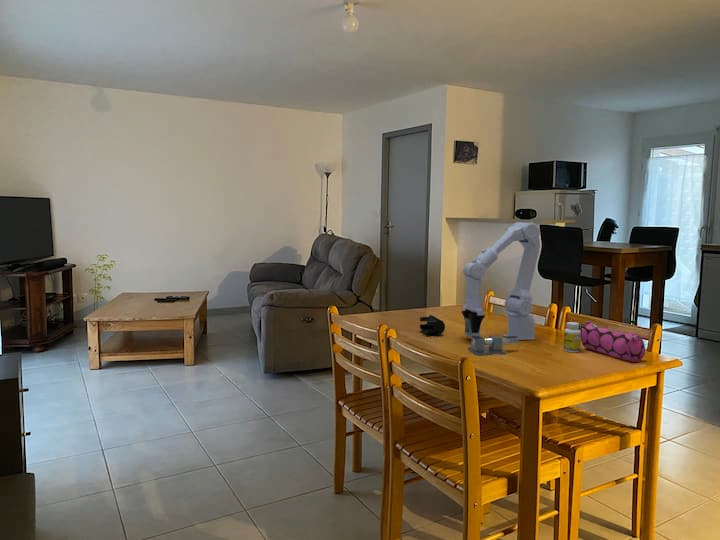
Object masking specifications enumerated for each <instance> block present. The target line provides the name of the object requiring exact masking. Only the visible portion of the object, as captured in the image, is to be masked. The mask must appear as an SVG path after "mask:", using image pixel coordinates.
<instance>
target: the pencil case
mask: <svg viewBox="0 0 720 540" xmlns="http://www.w3.org/2000/svg"><path fill="white" fill-rule="evenodd" d="M585 325H586V326H584V328H583V329H582V331H581V342H580V343H582V346H583V347H584V348H585V349H588V350H590V351H595V352H597V353H600V354H606V355H608V356H610V357H614V358H617V359H621V360H624V361H629V362H634V363H637V361H638V362H640V361H641V360H642V359H643V358H644V356H645V354H646V346H645V343H644V340H643V338H642V336H640V335H639V334H637V333H633V332H625V333H624V332H621V331H615V330H611V329H608V328H606V327H599V326H597V325H596V324H595V323H594V322H592V321H591V320H588V321H586V322H585Z"/></svg>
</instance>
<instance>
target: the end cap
mask: <svg viewBox="0 0 720 540" xmlns="http://www.w3.org/2000/svg"><path fill="white" fill-rule="evenodd" d="M419 322H426V323H424V324H419V329H420V333H421V334H422V333H423V334H422V335H424V336H425V335H426V337H427V338H428V337H430V338H431V336H433V337H439V336H440V335H442V334H443V333H444V332H445V331H446V324H445V322H444V321H443V320H442V319H440V318H438V317H436V316H434V315H432V314H429V316H420V318H419Z"/></svg>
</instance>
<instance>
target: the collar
mask: <svg viewBox="0 0 720 540" xmlns="http://www.w3.org/2000/svg"><path fill="white" fill-rule="evenodd" d="M464 335H465V336H467V337H468V338H471V337H472V336H481V328H480V329H479V332H478V333H472V326H471V320H470V317H466V318H465V319H464Z"/></svg>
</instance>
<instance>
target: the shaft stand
mask: <svg viewBox="0 0 720 540" xmlns="http://www.w3.org/2000/svg"><path fill="white" fill-rule="evenodd" d="M470 338H471V341H470V342H471V344H470V345H471V346H469V347H468V349H467V350H468V351H470V352H471V353H473V354H474V355H476V356H477V355H478V356H491V355H490V354H501V355H507V352H508V351H505V350H504V349H503V345H511V344H512V345H513V344H514V345H515V344H519V342H520V340H519V339H518V337H517V336H506V337H505V336H500V335H498V334H497V335H496V334H495V335H489V336H488V337H486V338H485V337H482V336H481V335H480V336H472V337H470ZM486 345H488V346H486Z"/></svg>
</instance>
